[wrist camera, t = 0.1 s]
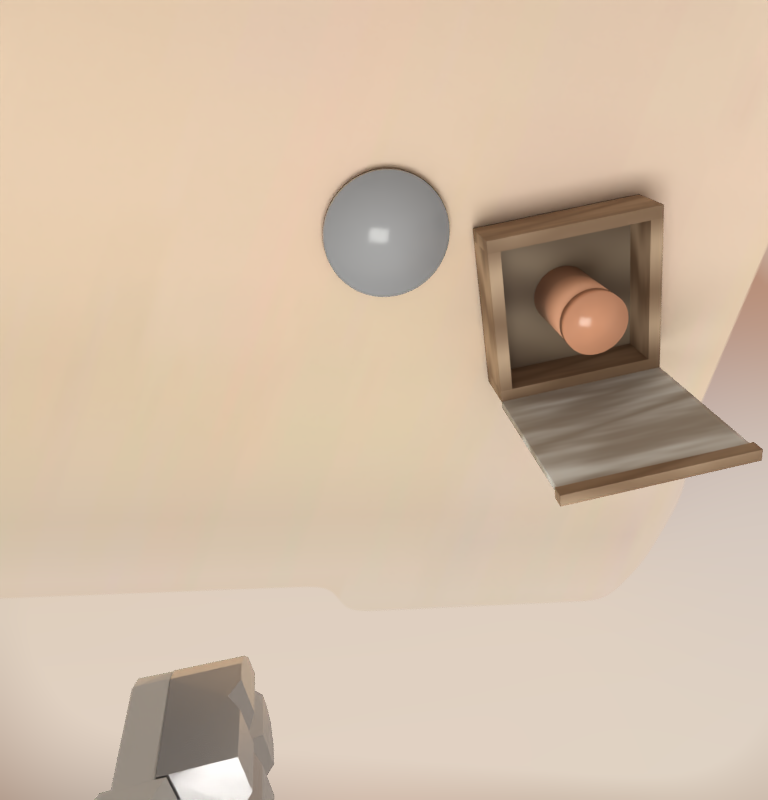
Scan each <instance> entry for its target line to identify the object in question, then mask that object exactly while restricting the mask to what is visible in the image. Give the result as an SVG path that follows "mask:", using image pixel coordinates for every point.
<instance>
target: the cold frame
mask: <svg viewBox="0 0 768 800" xmlns="http://www.w3.org/2000/svg"><path fill="white" fill-rule="evenodd" d="M663 216H664V205H663V204H661V203H658V202H656V201H654V200H651V199H649V198H647V197H644V196H642V195H640V194H639V195H634V196H629V197H625V198H620V199H615V200H610V201H605V202H600V203H595V204H591V205H586V206H581V207H576V208H571V209H566V210H562V211H557V212H552V213H547V214H542V215H537V216H532V217H528V218H523V219H518V220H513V221H508V222H503V223H498V224H494V225H489V226H484V227H479V228H474V229H473V235H474V244H475V254H476V264H477V273H478V283H479V292H480V302H481V311H482V321H483V331H484V340H485V350H486V359H487V369H488V379H489V383H490V384H491V386H492V387H493V389H494V390H495V392H496V393H497V395H498V397H499V398H500V400H501V401H502V408H503V410H504V411H505V413H506V414H507V416H508V417H509V419H510V421H511V422H512V424H513V425H514V427H515V428H516V430H517V432H518V433H519V435H520V436H521V438H522V440H523V441H524V443H525V444H526V446H527V447H528V449H529V451H530V452H531V454H532V455H533V457H534V458H535V460H536V462H537V463H538V465H539V466H540V468H541V469H542V471H543V473H544V474H545V476H546V477H547V479H548V481H549V482H550V484H551V485H552V487H553V488H554V490H555V498H556V500H557V501H558V503H559V505H560V506H565V505H569V504H574V503H578V502H582V501H587V500H591V499H595V498H600V497H604V496H608V495H613V494H617V493H622V492H626V491H630V490H635V489H639V488H643V487H648V486H652V485H656V484H661V483H665V482H670V481H674V480H678V479H683V478H687V477H691V476H696V475H700V474H704V473H708V472H713V471H718V470H722V469H726V468H731V467H735V466H739V465H744V464H748V463H752V462H757V461H761V460H762V452H763V449H762V448H760V447H759V446H758V445H757V444H756V443H754V442H752V443H749V442H747V441H746V440H745V439H744V438H743V437H741V436H740V435H739V434H738V433H737V432H736V431H734V430H733V429H732V428H731V427H730V426H728V425H727V424H726V423H725V422H723V421H722V420H721V419H720V418H719V417H718V416H717V415H715V414H714V413H713V412H712V411H710V410H709V409H708V408H707V407H706V406H705V405H704V404H702V403H701V402H700V401H699V400H698V399H696V398H695V397H694V396H693V395H692V394H691V393H689V392H688V391H687V390H686V389H685V388H683V387H682V386H681V385H680V384H679V383H678V382H676V381H675V380H674V379H673V378H672V377H670V376H669V375H668V374H667V373H666V372H665V371H663V370H662V369H661V368H660V367H659V365H660V328H661V290H662V253H663ZM561 266H573V267H577V268H579V269H581V270H582V271H583V272H585V273H586V274H587V275H589V276H590V277H591V278H593V279H594V280H595V281H597V282H598V283H599V284H601V285H602V286H604V287H605V288H606V289H608V290H609V291H611V292H613V293H614V294H615V295H617V296H618V297H619V298H620V299H622V301H623V302H624V303H625V305H626V307H627V310H628V325H627V328H626V331H625V333H624V335H623V336H622V338H621V339H620V340H619V341H618V342H617V343H616V344H615V345H614V346H613V347H612V348H610V349H609V350H607V351H605V352H602V353H599V354H594V355H585V354H581V353H579V352H577V351H575V350H574V349H572V348H571V347H570V346H569V345H568V344H567V343H566V341H565V340H564V339H563V338H562V337H561V336H560V335H559V334H558V332H557V331H556V330H555V329H554V328H553V327H552V326H551V325H550V324H549V323H548V322H547V321H546V320H545V319H544V318H543V317H542V316H541V315H540V314H539V313H538V311H537V309H536V307H535V302H534V295H535V290H536V287H537V285H538V283H539V282H540V280H541V279H542V278H543V277H544V276H545V275H546V274H547V273H548V272H550V271H551V270H553V269H555V268H557V267H561Z"/></svg>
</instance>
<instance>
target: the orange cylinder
mask: <svg viewBox="0 0 768 800" xmlns="http://www.w3.org/2000/svg"><path fill="white" fill-rule="evenodd" d="M534 302H535V307H536V309H537V311H538V313H539V314H540V315H541V316H542V317H543V318H544V319H545V320H546V321H547V322H548V323H549V324H550V325H551V326H552V327H553V328H554V329H555V330H556V331H557V332H558V334H559V335H560V336H561V337H562V338H563V339H564V340H565V341H566V343H567V344H568V345H569V346H570V347H571V348H572V349H574V350H575V351H577V352H579V353H581V354H585V355H594V354H599V353H602V352H605V351H607V350H609V349H610V348H612V347H613V346H614V345H615V344H616V343H617V342H618V341H619V340H620V339H621V338H622V336H623V335H624V333H625V331H626V328H627V325H628V310H627V307H626V305H625V303H624V302H623V301H622V299H620V298H619V297H618V296H617V295H615V294H614V293H613V292H611V291H609V290H608V289H606V288H605V287H604V286H602V285H601V284H599V283H598V282H597V281H595V280H594V279H593V278H591V277H590V276H589V275H587V274H586V273H585V272H583V271H582V270H581V269H579V268H577V267H573V266H561V267H557V268H555V269H553V270H551V271H550V272H548V273H547V274H546V275H545V276H544V277H543V278H542V279H541V280H540V282H539V283H538V285H537V287H536V290H535V295H534Z"/></svg>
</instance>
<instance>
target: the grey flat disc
mask: <svg viewBox="0 0 768 800" xmlns="http://www.w3.org/2000/svg"><path fill="white" fill-rule="evenodd" d="M448 241H449V221H448V216H447V212H446V209H445V207H444V205H443V202H442V200H441V199H440V197H439V196H438V194H437V193H436V192H435V191H434V189H433V188H432V187H431V186H430V185H429V184H427V183H426V182H425V181H424V180H422V179H421V178H419V177H418V176H416V175H414V174H412V173H409V172H406V171H403V170H399V169H376V170H372V171H368V172H365V173H363V174H361V175H359V176H357V177H355V178H353V179H352V180H350V181H349V182H348V183H347V184H345V185H344V186H343V187H342V188H341V189H340V190H339V191H338V193H337V194H336V195H335V197H334V198H333V200H332V202H331V203H330V205H329V207H328V210H327V212H326V215H325V219H324V224H323V243H324V248H325V252H326V256H327V258H328V261H329V263H330V265H331V267H332V268H333V270H334V272H335V273H336V274H337V275H338V277H339V278H340V279H341V280H342V281H343V282H345V283H346V284H347V285H349V286H350V287H351V288H353V289H355V290H357V291H359V292H361V293H364V294H367V295H371V296H378V297H390V296H397V295H401V294H404V293H407V292H409V291H412V290H413V289H415V288H417V287H419V286H420V285H422V284H423V283H424V282H426V281H427V280H428V279H429V278H430V277H431V276H432V275H433V273H434V272H435V271H436V270H437V268H438V267H439V265H440V264H441V262H442V260H443V258H444V256H445V253H446V250H447V246H448Z"/></svg>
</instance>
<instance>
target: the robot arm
mask: <svg viewBox="0 0 768 800" xmlns="http://www.w3.org/2000/svg"><path fill="white" fill-rule="evenodd" d="M273 765H274V752H273V738H272V730H271V722H270V718H269V714H268V710H267V706H266V703H265V700H264V697H263V695H262V694H260V693H258V692H256V691H255V673H254V670H253V668H252V666H251V663H250V661H249V658H248V657H246V656H241V657H236V658H232V659H227V660H222V661H217V662H213V663H208V664H203V665H198V666H193V667H189V668H184V669H179V670H175V671H173V672H168V673H163V674H159V675H154V676H149V677H144V678H140V679H138V680H137V682H136V684H135V685H134V687H133V689H132V692H131V697H130V701H129V706H128V710H127V715H126V720H125V725H124V730H123V734H122V740H121V744H120V749H119V754H118V758H117V763H116V768H115V773H114V778H113V782H112V787H111V790H110V791H106V792H102V793H99V795H98V796H97V797H96V798H95V800H274V794H273V791H272V788H271V786H270V783H269V780H268V778H267V775H268V773H269V771H270V769H271V768H272V766H273Z"/></svg>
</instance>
